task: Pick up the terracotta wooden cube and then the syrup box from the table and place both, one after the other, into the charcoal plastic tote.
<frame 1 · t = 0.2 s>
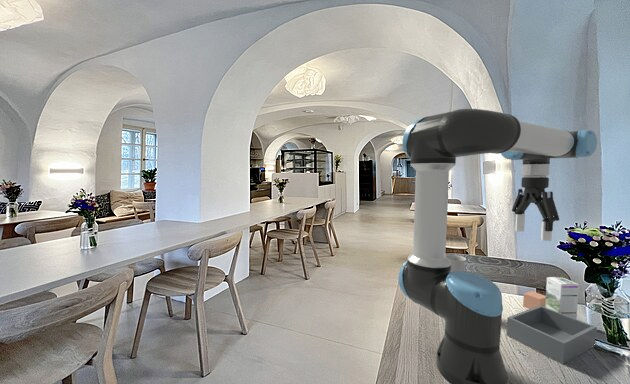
hand: (531, 235, 97), 26 cm above the table, tool pointing down, fingers open, 13 cm apart
tote: (549, 340, 79), on the table
chalice: (453, 305, 100), on the table
syrup box: (559, 323, 88), on the table
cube: (534, 308, 97), on the table
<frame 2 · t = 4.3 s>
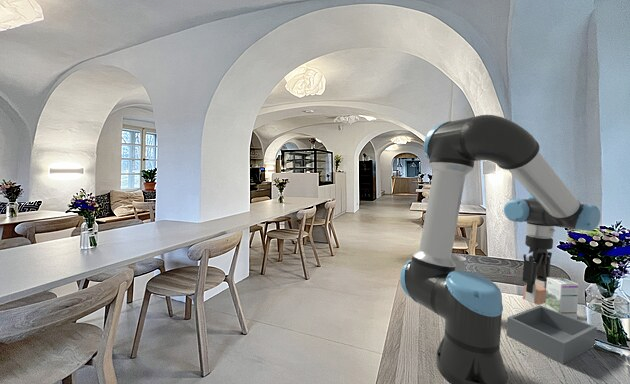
hand: (534, 299, 97), 3 cm above the table, tool pointing down, fingers closed on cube, 5 cm apart
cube: (534, 300, 97), point 3 cm above the table, touching gripper
everything else where it was.
when the fingers open (6 cm above the table, at t = 8.8 s): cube drops 5 cm, resting on tote.
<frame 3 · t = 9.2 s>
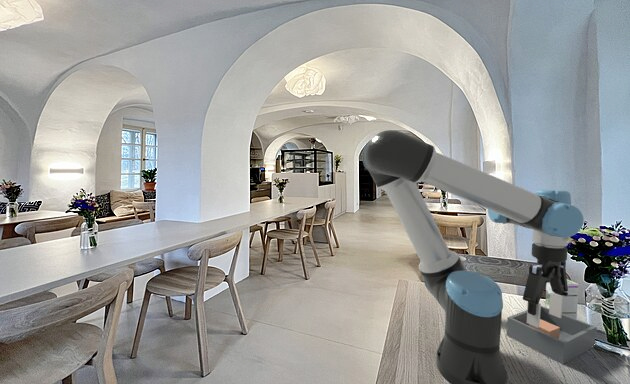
hand: (544, 320, 77), 7 cm above the table, tool pointing down, fingers open, 11 cm apart
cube: (543, 341, 77), point 1 cm above the table, touching tote
everything else where it was.
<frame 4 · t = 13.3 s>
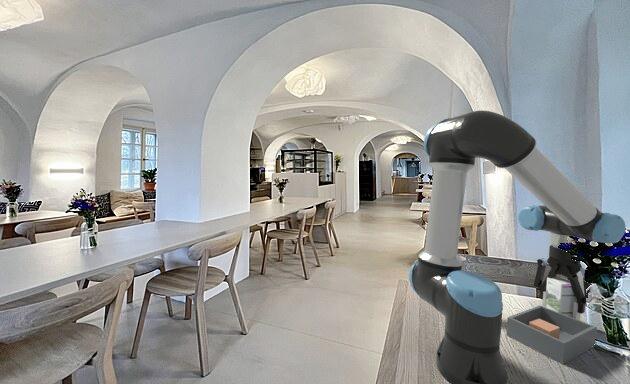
hand: (560, 315, 87), 3 cm above the table, tool pointing down, fingers closed on syrup box, 7 cm apart
syrup box: (559, 323, 88), on the table, touching gripper
everything else where it was.
when the fingers open (6 cm above the table, at t = 19.0 s): syrup box drops 2 cm, resting on tote.
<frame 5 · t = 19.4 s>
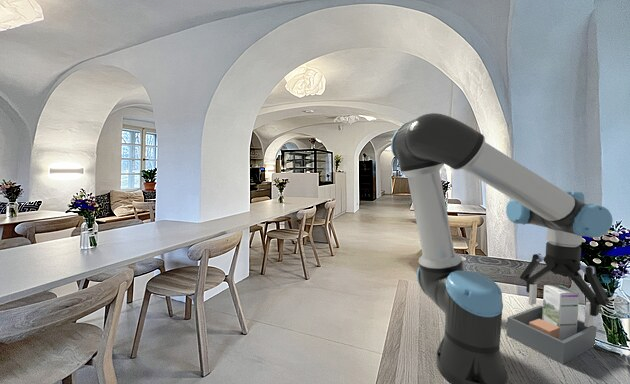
hand: (558, 313, 80), 7 cm above the table, tool pointing down, fingers open, 13 cm apart
syrup box: (558, 336, 80), resting on tote
everything else where it was.
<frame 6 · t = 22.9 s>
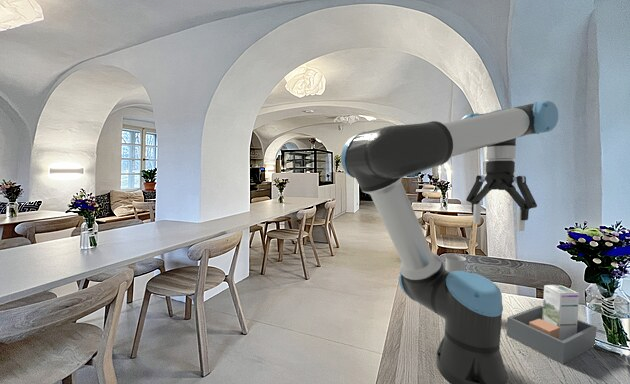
hand: (496, 226, 86), 32 cm above the table, tool pointing down, fingers open, 13 cm apart
nothing on the table moved.
at the end: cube inside the target area on the tote (3.4 cm from its centre), point 0.6 cm above the tote's base; syrup box inside the target area on the tote (4.0 cm from its centre), point 0.4 cm above the tote's base; syrup box tilted 0° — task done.
